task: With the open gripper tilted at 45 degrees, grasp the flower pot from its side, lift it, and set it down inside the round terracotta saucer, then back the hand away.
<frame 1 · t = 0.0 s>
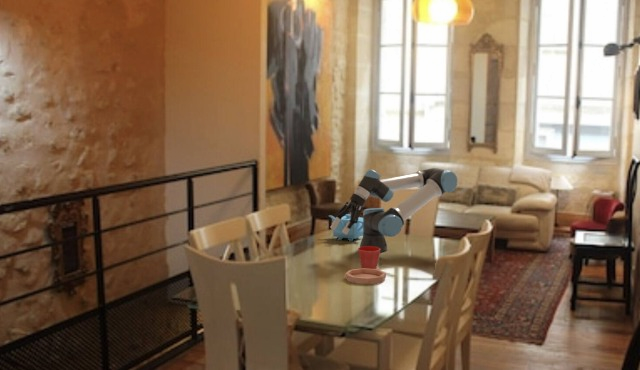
hand: (338, 231, 351), 15 cm above the table, tool tilted 35°, fingers open, 13 cm apart
teakettle: (346, 239, 406), on the table
terracotta saucer: (365, 279, 316), on the table
flower pot: (369, 268, 338), on the table
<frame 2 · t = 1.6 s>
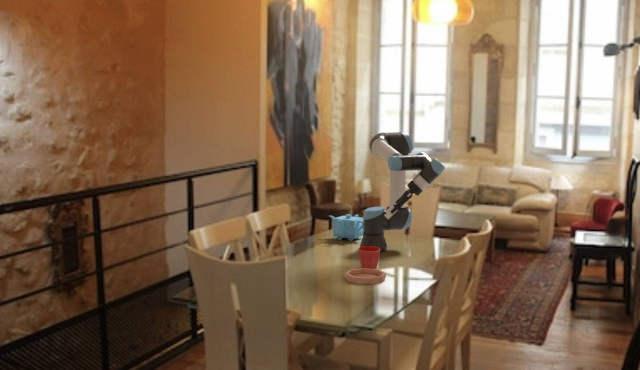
hand: (386, 215, 334), 26 cm above the table, tool tilted 45°, fingers open, 13 cm apart
nothing on the table moved.
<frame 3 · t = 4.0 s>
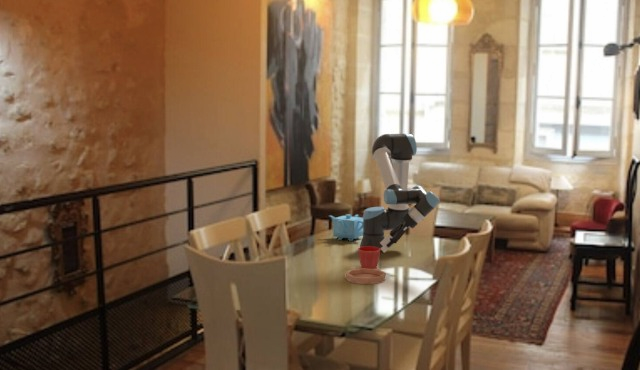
hand: (382, 247, 334), 10 cm above the table, tool tilted 45°, fingers open, 13 cm apart
nothing on the table moved.
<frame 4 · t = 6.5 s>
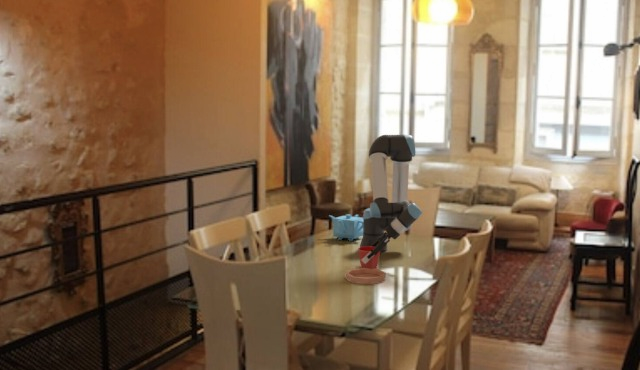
hand: (363, 259, 337), 4 cm above the table, tool tilted 45°, fingers closed on flower pot, 10 cm apart
flower pot: (369, 267, 338), on the table, touching gripper
everything else where it was.
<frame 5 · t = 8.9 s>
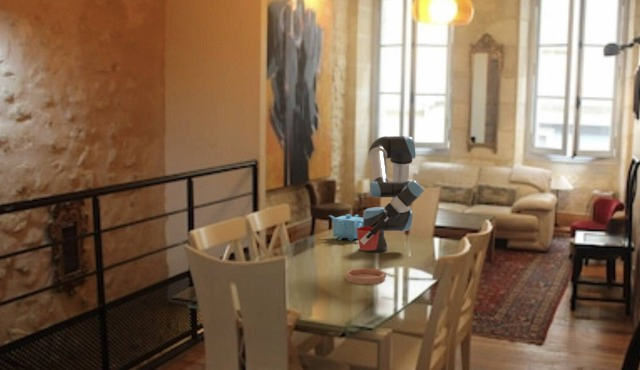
hand: (361, 240, 321), 17 cm above the table, tool tilted 45°, fingers closed on flower pot, 10 cm apart
flower pot: (368, 249, 322), point 13 cm above the table, touching gripper
everything else where it was.
when the fingers open (6 cm above the table, at t = 11.7 s): flower pot drops 1 cm, resting on terracotta saucer.
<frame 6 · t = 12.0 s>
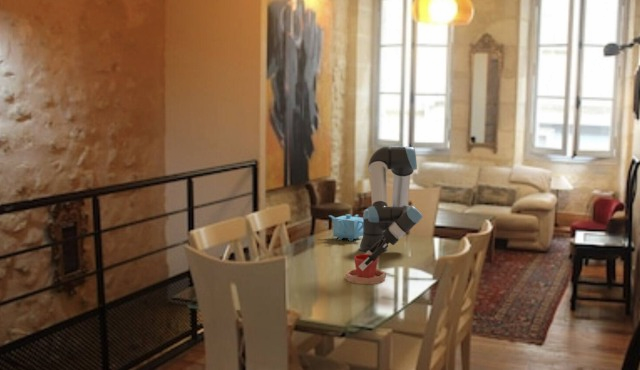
hand: (360, 265, 316), 7 cm above the table, tool tilted 45°, fingers open, 13 cm apart
flower pot: (365, 277, 316), point 1 cm above the table, touching terracotta saucer
everything else where it was.
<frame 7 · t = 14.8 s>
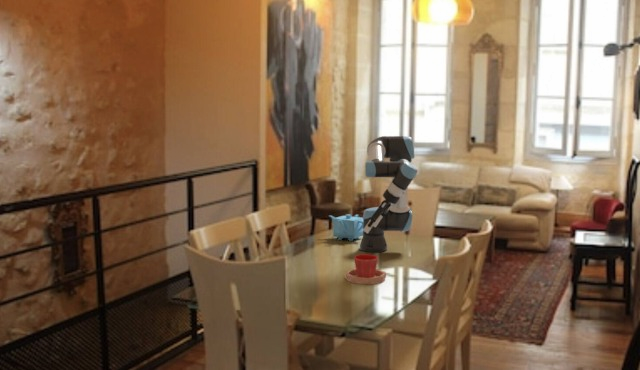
hand: (369, 228, 322), 22 cm above the table, tool tilted 35°, fingers open, 13 cm apart
nothing on the table moved.
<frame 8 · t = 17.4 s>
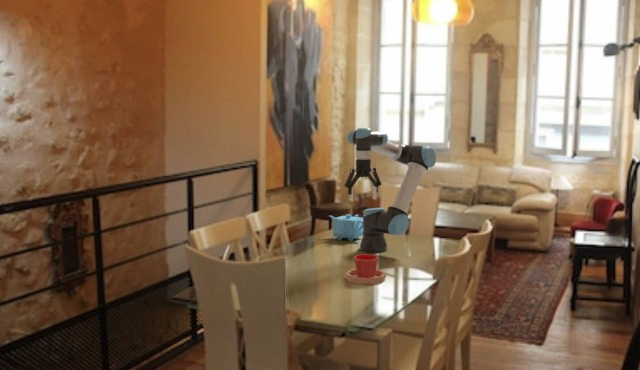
hand: (363, 200, 348), 32 cm above the table, tool pointing down, fingers open, 13 cm apart
nothing on the table moved.
at the end: flower pot 0.2 cm off-centre on the terracotta saucer, point 0.6 cm above the terracotta saucer's base; flower pot tilted 0°; the gripper is holding nothing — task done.
